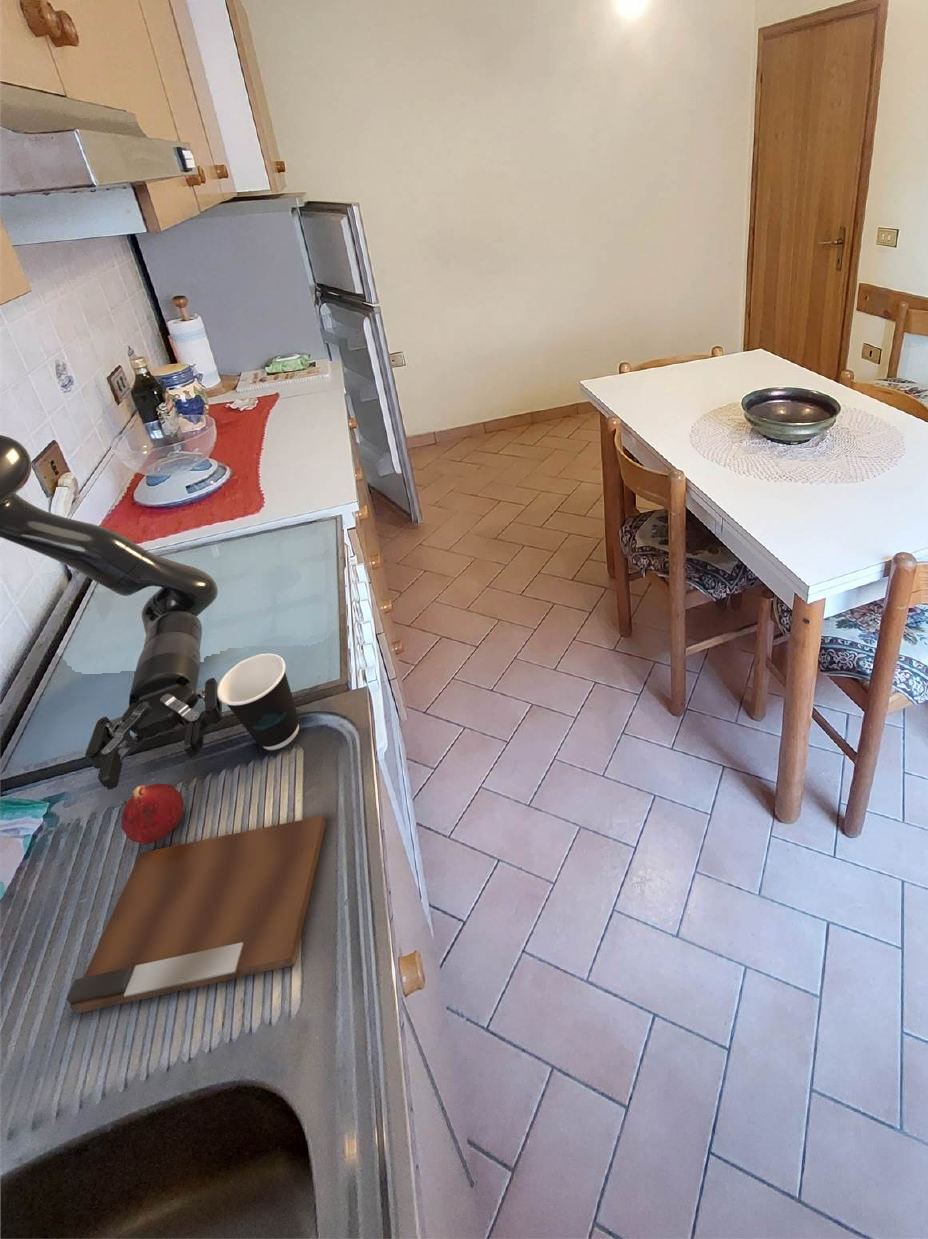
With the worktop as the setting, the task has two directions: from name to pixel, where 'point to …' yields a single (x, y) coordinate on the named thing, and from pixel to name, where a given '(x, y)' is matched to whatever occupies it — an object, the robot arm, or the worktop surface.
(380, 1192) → the worktop surface
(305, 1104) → the worktop surface
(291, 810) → the worktop surface
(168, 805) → the onion
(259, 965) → the cutting board
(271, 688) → the dixie cup
